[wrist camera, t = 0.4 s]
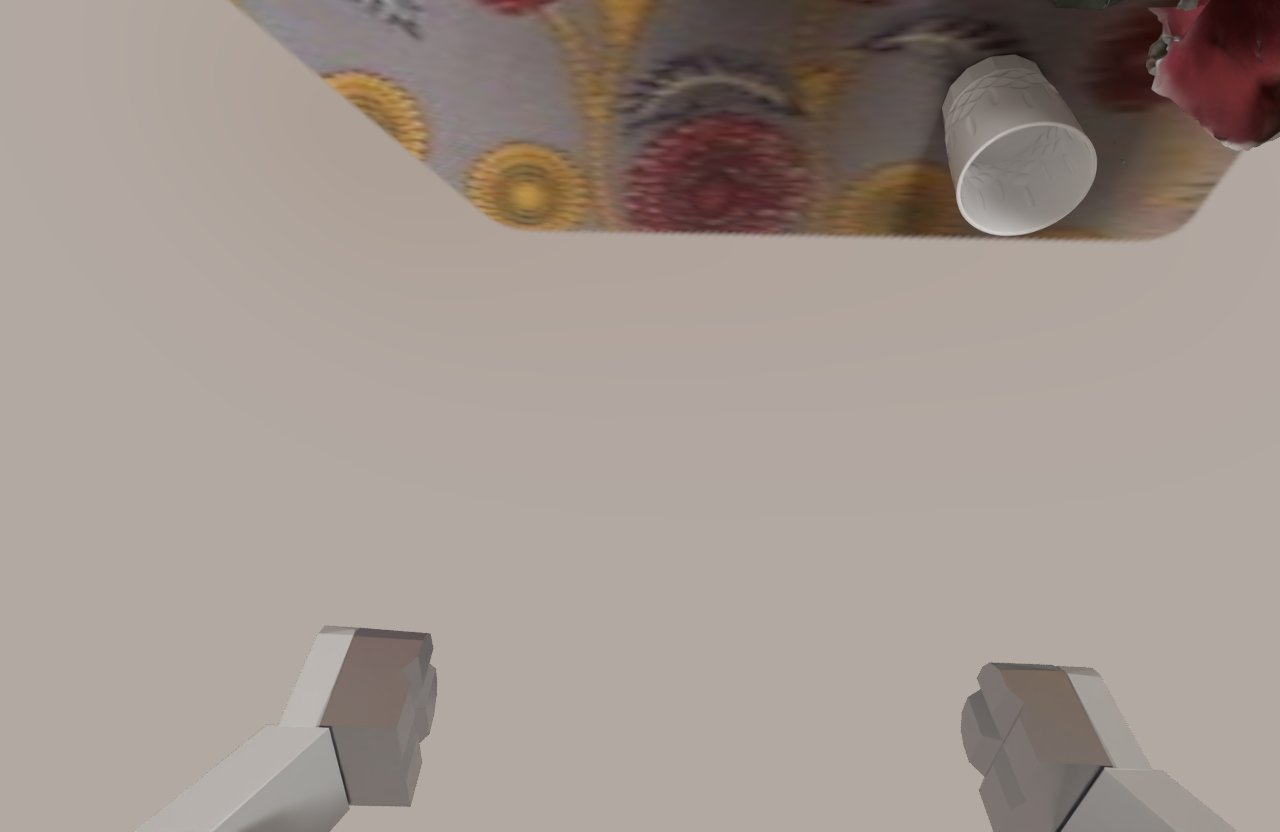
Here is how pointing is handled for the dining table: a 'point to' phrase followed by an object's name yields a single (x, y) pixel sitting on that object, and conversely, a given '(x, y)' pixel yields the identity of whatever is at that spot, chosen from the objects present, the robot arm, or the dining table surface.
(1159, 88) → the rose bouquet
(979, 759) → the robot arm
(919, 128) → the dining table surface
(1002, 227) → the white cup
